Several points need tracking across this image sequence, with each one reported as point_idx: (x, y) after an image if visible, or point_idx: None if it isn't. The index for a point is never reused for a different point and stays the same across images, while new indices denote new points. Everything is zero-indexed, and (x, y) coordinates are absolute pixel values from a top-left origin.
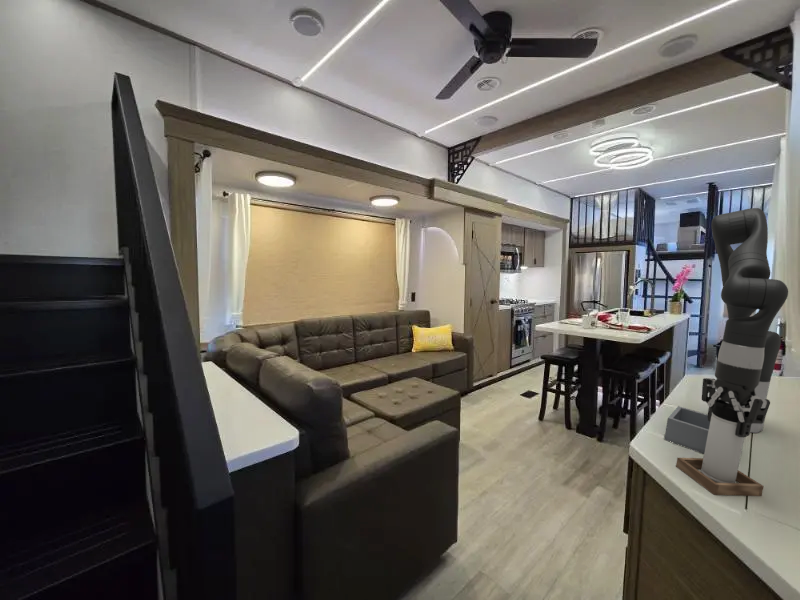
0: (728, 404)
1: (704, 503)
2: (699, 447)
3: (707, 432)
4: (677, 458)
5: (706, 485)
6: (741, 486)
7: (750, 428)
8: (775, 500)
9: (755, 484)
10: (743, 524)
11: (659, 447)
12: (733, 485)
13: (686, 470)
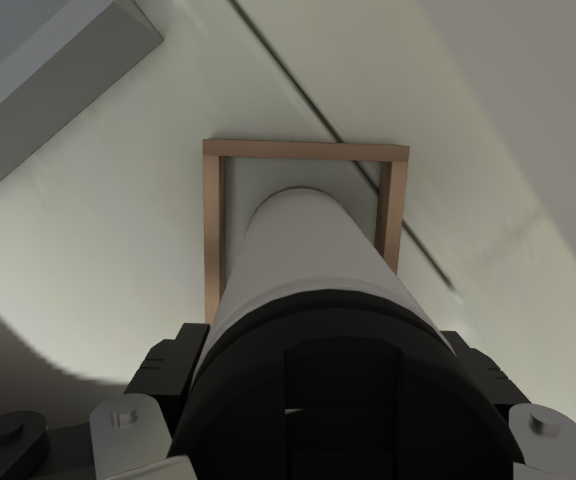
0: (227, 440)
1: None
2: (69, 108)
3: (28, 86)
4: None
5: None
6: (398, 247)
7: (520, 392)
8: (423, 112)
9: (396, 173)
10: (509, 365)
11: (66, 279)
12: None
13: None
